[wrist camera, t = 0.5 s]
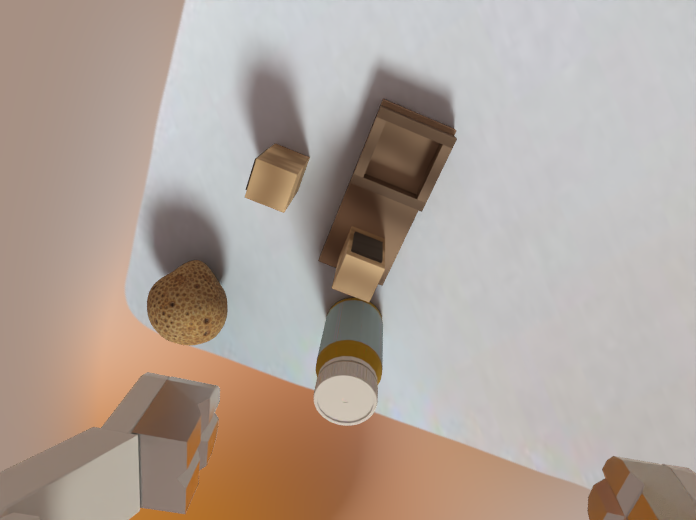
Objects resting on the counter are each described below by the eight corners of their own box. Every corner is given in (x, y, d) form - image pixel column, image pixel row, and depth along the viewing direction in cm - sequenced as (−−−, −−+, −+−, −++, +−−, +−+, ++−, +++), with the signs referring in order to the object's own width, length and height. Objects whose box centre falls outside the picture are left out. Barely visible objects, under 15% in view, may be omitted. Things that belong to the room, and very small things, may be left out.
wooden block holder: (383, 98, 48) (382, 108, 39) (454, 128, 48) (469, 144, 40) (320, 255, 55) (307, 293, 46) (382, 280, 56) (381, 321, 47)
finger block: (309, 157, 51) (297, 174, 43) (298, 190, 52) (284, 212, 45) (272, 142, 50) (253, 157, 43) (261, 176, 52) (241, 196, 45)
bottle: (316, 308, 58) (295, 386, 44) (367, 286, 56) (361, 361, 43) (343, 350, 60) (330, 437, 47) (392, 331, 59) (394, 415, 45)
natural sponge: (191, 325, 61) (156, 373, 51) (154, 266, 57) (111, 307, 48) (252, 303, 59) (227, 349, 49) (218, 242, 55) (185, 279, 46)
